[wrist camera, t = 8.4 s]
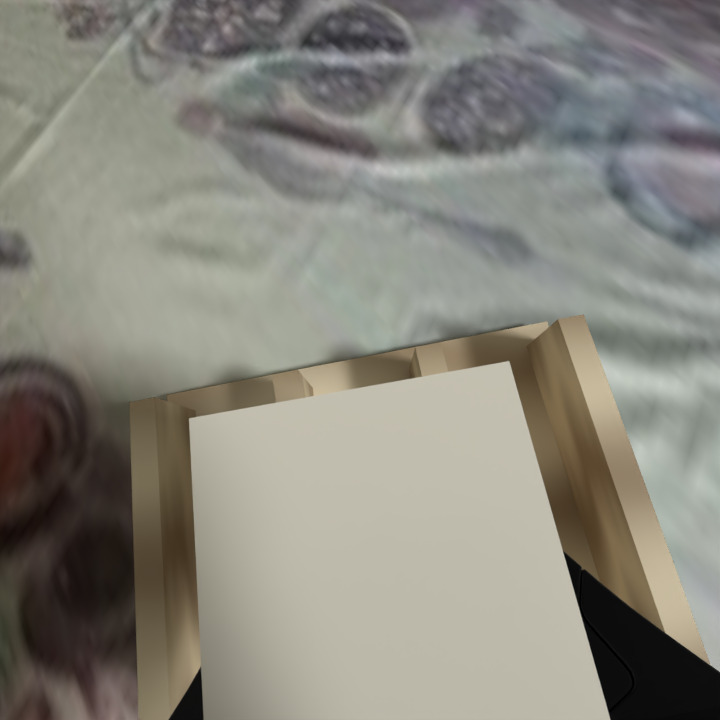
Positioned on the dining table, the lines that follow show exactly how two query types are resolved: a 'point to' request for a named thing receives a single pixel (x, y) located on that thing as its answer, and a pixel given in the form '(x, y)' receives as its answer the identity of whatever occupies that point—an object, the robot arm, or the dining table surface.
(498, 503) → the cream rectangular block
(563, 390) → the ridged tan cradle
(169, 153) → the dining table surface
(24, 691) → the dining table surface
